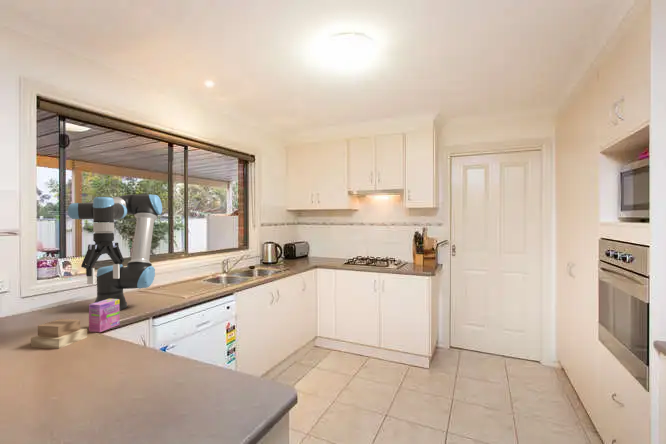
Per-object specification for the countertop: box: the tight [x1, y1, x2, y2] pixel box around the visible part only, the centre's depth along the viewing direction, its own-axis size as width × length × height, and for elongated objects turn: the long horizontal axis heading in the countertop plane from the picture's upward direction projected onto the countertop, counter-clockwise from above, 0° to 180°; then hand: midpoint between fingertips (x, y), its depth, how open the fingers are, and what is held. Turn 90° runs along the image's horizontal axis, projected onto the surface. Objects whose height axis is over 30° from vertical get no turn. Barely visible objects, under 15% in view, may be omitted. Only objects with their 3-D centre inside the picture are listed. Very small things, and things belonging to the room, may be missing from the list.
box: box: [88, 299, 121, 333], centre depth 147 cm, size 10×6×12 cm, turn 168°
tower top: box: [37, 318, 81, 337], centre depth 130 cm, size 9×9×4 cm
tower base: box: [30, 327, 88, 350], centre depth 130 cm, size 12×12×4 cm
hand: (104, 281), depth 146 cm, fingers open, 13 cm apart
